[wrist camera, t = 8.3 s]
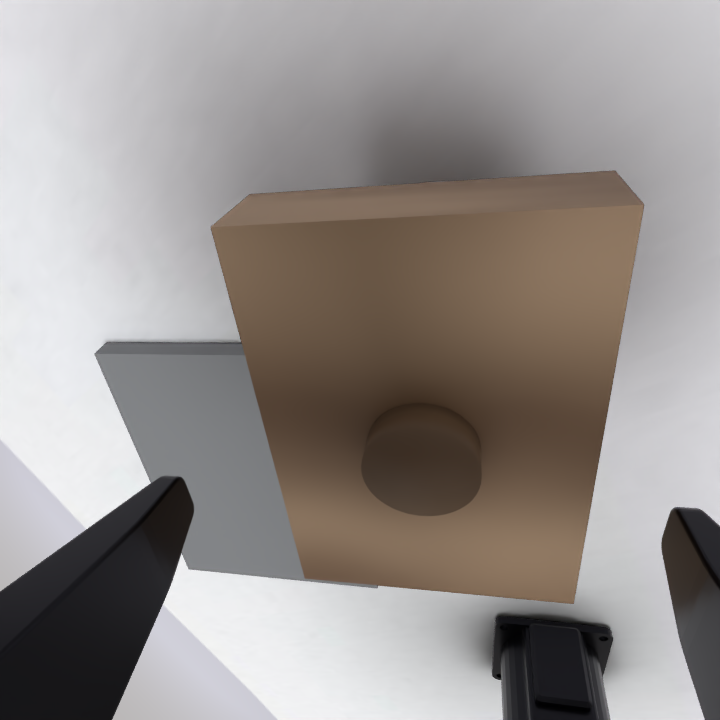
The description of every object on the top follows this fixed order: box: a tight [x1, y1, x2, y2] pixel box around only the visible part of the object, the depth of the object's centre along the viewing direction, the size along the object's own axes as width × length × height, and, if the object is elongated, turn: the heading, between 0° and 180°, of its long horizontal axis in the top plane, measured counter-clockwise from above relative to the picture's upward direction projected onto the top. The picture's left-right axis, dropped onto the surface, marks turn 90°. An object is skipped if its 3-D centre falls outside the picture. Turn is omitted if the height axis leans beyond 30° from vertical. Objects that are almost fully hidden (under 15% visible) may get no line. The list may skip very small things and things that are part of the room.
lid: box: [211, 171, 644, 604], centre depth 12 cm, size 10×7×3 cm
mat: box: [95, 343, 378, 588], centre depth 28 cm, size 16×12×1 cm
